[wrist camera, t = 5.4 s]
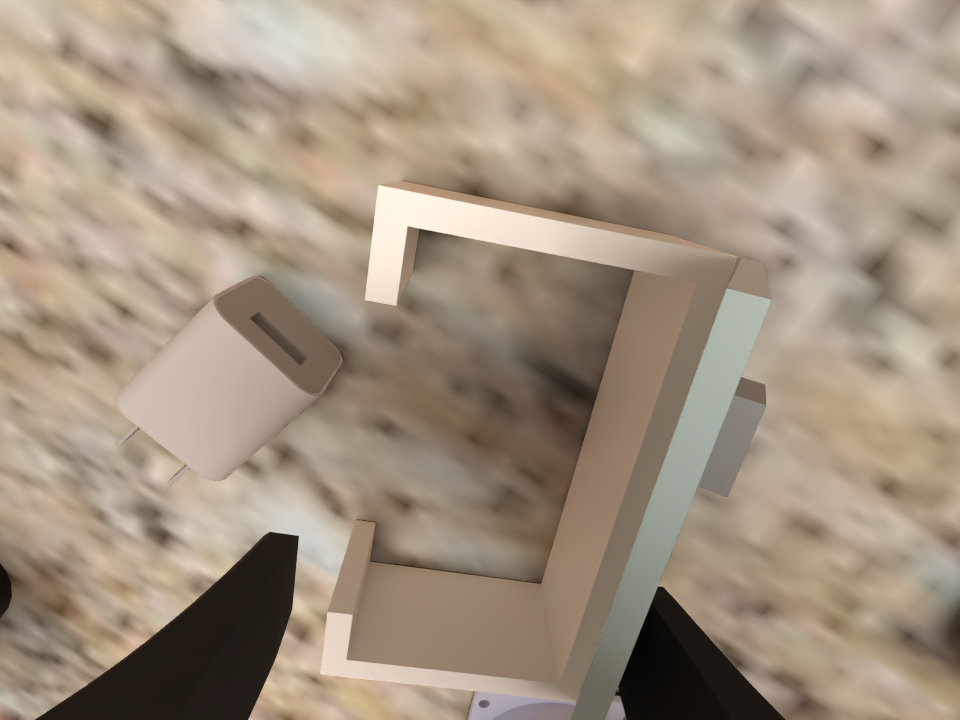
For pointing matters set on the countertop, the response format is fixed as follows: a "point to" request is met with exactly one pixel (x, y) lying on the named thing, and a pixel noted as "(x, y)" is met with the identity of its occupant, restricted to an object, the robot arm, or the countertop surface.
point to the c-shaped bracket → (595, 484)
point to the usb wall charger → (230, 379)
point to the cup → (4, 591)
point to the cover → (687, 474)
